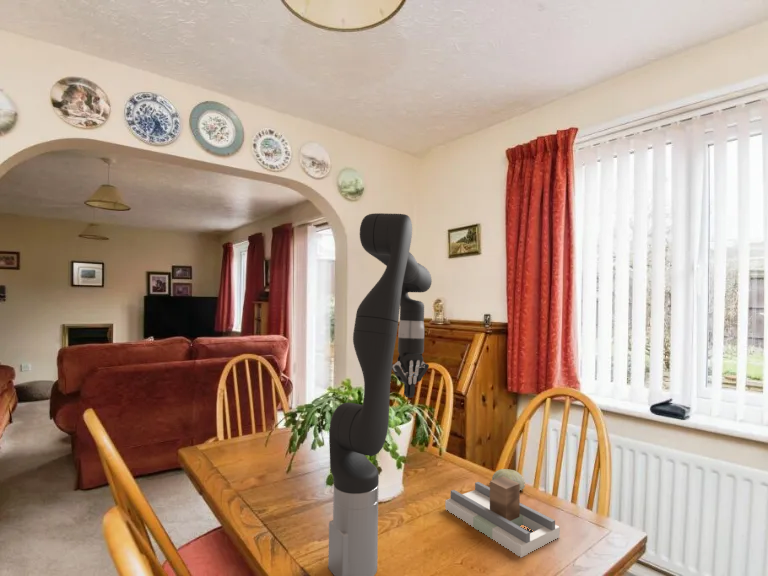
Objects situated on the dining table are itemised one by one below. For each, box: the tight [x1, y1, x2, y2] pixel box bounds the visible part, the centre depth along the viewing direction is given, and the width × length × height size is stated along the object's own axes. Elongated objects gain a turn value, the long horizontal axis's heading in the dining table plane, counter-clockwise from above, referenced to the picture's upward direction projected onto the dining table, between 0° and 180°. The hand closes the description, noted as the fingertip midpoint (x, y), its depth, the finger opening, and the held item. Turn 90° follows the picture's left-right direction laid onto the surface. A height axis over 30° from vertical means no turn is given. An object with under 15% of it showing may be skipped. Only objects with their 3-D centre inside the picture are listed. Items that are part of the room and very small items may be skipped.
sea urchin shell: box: [491, 468, 526, 491], centre depth 123 cm, size 9×8×8 cm
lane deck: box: [444, 481, 561, 558], centre depth 103 cm, size 14×24×4 cm, turn 34°
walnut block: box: [489, 476, 521, 521], centre depth 102 cm, size 5×5×8 cm
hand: (409, 397), depth 119 cm, fingers closed
